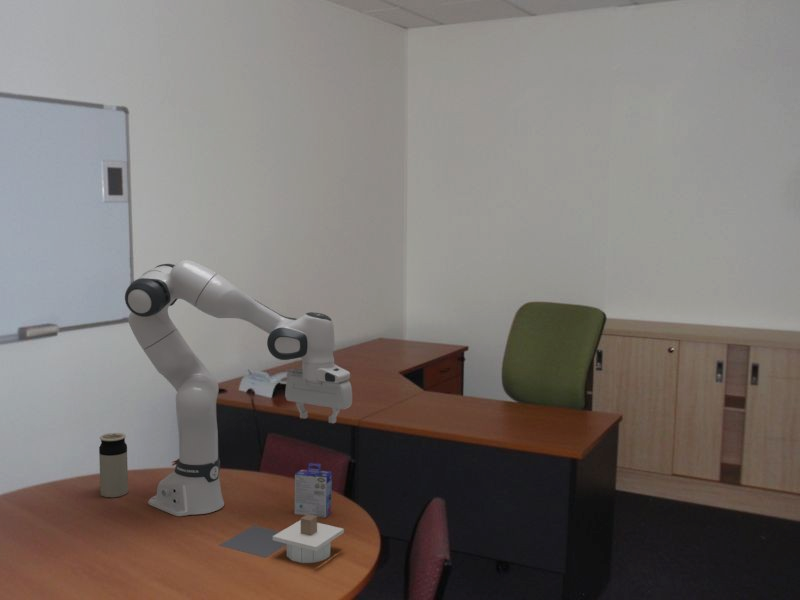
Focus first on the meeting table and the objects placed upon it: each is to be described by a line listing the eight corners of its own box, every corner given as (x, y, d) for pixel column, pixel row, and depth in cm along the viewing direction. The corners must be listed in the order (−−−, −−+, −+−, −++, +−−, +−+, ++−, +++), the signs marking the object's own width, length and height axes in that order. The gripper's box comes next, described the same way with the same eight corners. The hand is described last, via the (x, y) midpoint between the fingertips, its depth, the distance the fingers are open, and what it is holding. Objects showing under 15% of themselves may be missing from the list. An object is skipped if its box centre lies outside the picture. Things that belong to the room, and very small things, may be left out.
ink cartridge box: (332, 511, 241) (332, 463, 239) (327, 518, 236) (327, 469, 234) (300, 508, 243) (300, 460, 241) (293, 515, 238) (293, 466, 236)
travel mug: (122, 498, 248) (121, 440, 246) (96, 498, 248) (94, 439, 246) (131, 489, 256) (130, 432, 254) (106, 488, 256) (104, 432, 254)
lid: (272, 540, 208) (272, 521, 208) (302, 522, 220) (302, 504, 219) (316, 551, 202) (316, 531, 202) (343, 532, 214) (344, 513, 213)
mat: (218, 546, 216) (218, 545, 216) (254, 527, 229) (254, 525, 229) (265, 559, 209) (265, 557, 209) (299, 538, 222) (299, 536, 222)
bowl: (278, 558, 209) (278, 539, 209) (303, 542, 219) (303, 524, 218) (314, 568, 204) (315, 548, 204) (338, 551, 214) (338, 533, 213)
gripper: (280, 369, 231) (280, 417, 232) (343, 377, 221) (343, 428, 223) (293, 365, 236) (293, 412, 238) (355, 373, 227) (354, 422, 229)
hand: (317, 420), depth 230 cm, fingers open, 8 cm apart
